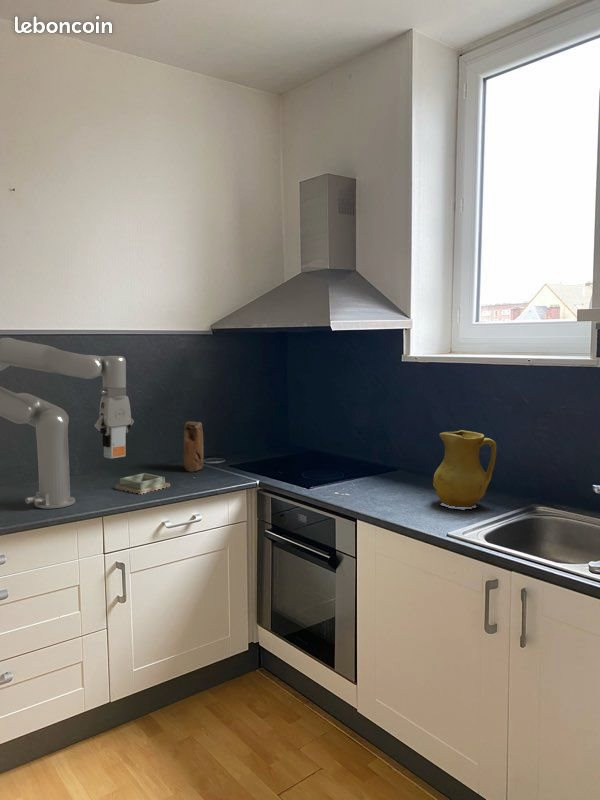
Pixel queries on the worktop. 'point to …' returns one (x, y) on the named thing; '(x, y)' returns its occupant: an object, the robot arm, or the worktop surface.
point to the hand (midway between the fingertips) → (114, 444)
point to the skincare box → (116, 442)
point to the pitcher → (463, 469)
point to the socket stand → (142, 483)
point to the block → (193, 446)
